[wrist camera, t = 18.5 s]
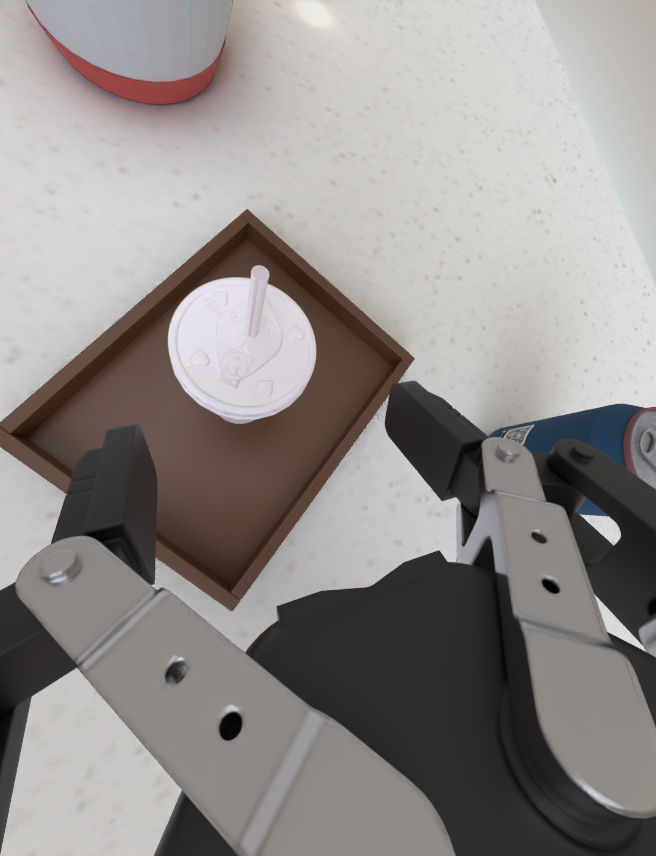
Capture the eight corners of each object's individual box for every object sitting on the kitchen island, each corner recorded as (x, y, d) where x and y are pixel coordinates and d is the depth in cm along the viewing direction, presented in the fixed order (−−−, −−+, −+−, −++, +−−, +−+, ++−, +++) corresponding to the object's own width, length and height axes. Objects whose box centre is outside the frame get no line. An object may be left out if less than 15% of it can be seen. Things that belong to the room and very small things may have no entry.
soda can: (544, 464, 31) (723, 452, 20) (510, 525, 29) (689, 549, 18) (493, 414, 31) (648, 371, 19) (455, 472, 29) (603, 463, 17)
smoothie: (297, 376, 25) (373, 256, 12) (265, 457, 24) (313, 420, 10) (213, 340, 24) (195, 159, 11) (174, 422, 22) (95, 329, 9)
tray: (231, 599, 22) (232, 612, 20) (11, 441, 20) (-17, 435, 18) (400, 368, 29) (415, 358, 27) (245, 232, 27) (247, 208, 25)
